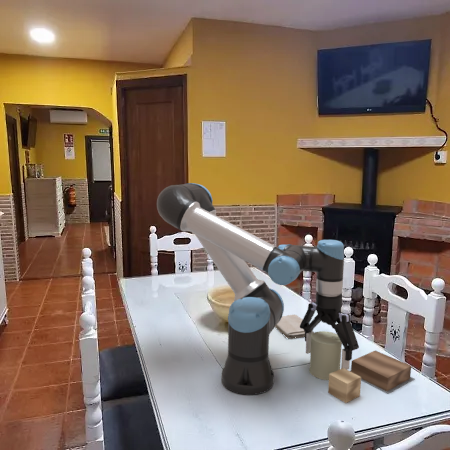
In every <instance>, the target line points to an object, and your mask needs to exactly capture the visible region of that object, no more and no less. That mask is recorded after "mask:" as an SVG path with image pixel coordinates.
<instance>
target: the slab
mask: <svg viewBox="0 0 450 450" xmlns="http://www.w3.org/2000/svg"><path fill="white" fill-rule="evenodd" d="M350 371H351V372H352V373H354V374H356V375H358V376H360V377H361V379H363V380H365V381H367V382H369V383H371V384H373V385H375V386H377V387H379V388H381V389H383V390H385V391H388V390H390V389H392V388H394V387H396V386H397V385H399V384H401V383H403V382H405V381H406V380H408V379H410V377H411V372H412V365H410V364H408V363H406V362H403V361H401V360H399V359H396V358H394V357H392V356H389V355H387V354H385V353H382V352H380V351H377V350H373V351H370V352H369V353H366V354H365V355H362V356H360V357H356V358H355V359H351V366H350Z"/></svg>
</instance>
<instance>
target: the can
mask: <svg viewBox="0 0 450 450" xmlns="http://www.w3.org/2000/svg"><path fill="white" fill-rule="evenodd" d="M342 346H343V345H342V343H341V341H340V339H339V337H338V335H337V333H336V332H335V333H334V332H331V331H327V330H326V331H325V330H322V331H315V332H314V333H313V334H312V335H311V353H310V357H309V358H310V360H309V368H308V371H309V374H311V376H313V377H315V378H316V379H320V380H323V381H329V374H330V373H333V372H335V371H337V370H339V369H341V363H342Z"/></svg>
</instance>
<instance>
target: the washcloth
mask: <svg viewBox="0 0 450 450" xmlns="http://www.w3.org/2000/svg"><path fill="white" fill-rule="evenodd" d="M302 320H303V318H301V317H299V315H297V314H288V315H284V316H283V315H282V318H281V320H280V321H279V323H278V324H277V325H276V326H275V327H276V328H277V329H278V330H277V329H276V328H275V327H274V328H275V329H276V330H277V331H279V333H281V332H282V333H283V334H284V335H285V336H286V337H287V338H289V339H293V338H294V339H301V338H305V332H304V329H301V328H300V324H301V322H302ZM312 331H313V332H314V329H313V330H312ZM312 331H311V332H312ZM282 333H281V334H282ZM283 334H282V335H283ZM284 335H283V336H284ZM285 336H284V337H285ZM286 337H285V338H286ZM295 337H296V338H295ZM287 338H286V339H287Z"/></svg>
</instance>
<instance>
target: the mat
mask: <svg viewBox="0 0 450 450" xmlns="http://www.w3.org/2000/svg"><path fill="white" fill-rule="evenodd" d="M349 371H350V372H351V370H349ZM414 380H415V377H412V376H410V379H408V380H406V381H405V382H403V383H401V384H399V385H397V386H396V387H394V388H392V389H390V390H388V391H385V390H383V389H381V388H379V387H377V386H375V385H373V384H371V383H369V382H367V381H365V380H363V379H361V382H363V383H364V384H367V385H369V386H371V387H373V388H375V389H376V390H379V391H381V392H383V393H385V394H386V395H390V394H392V392H395V391H397V390H399V389H400V388H402V387H403V386H405V385H408V384H409V383H411V382H412V381H414Z"/></svg>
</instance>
